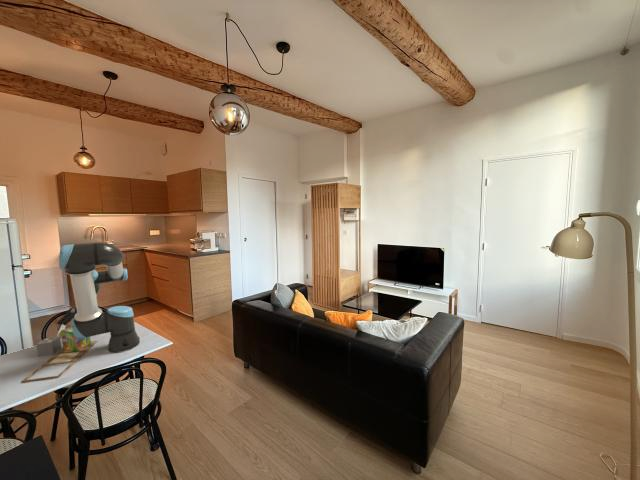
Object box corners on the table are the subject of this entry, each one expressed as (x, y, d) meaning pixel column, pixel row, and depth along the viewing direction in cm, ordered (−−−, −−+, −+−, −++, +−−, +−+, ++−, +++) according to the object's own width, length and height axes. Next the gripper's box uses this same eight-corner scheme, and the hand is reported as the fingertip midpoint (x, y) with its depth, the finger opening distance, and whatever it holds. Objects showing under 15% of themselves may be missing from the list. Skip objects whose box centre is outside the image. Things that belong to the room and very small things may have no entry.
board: (58, 377, 131) (58, 375, 131) (21, 382, 127) (21, 380, 127) (97, 341, 164) (97, 340, 164) (69, 345, 161) (69, 343, 161)
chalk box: (62, 350, 154) (58, 325, 152) (80, 342, 162) (77, 318, 160) (74, 352, 151) (70, 327, 149) (92, 344, 160) (88, 320, 158)
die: (53, 354, 151) (51, 342, 150) (38, 356, 150) (36, 344, 149) (61, 347, 158) (60, 336, 157) (47, 349, 156) (45, 337, 155)
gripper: (112, 301, 171) (100, 335, 158) (67, 304, 167) (51, 339, 154) (106, 296, 165) (93, 331, 152) (59, 299, 161) (42, 335, 148)
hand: (72, 335), depth 153 cm, fingers open, 13 cm apart
